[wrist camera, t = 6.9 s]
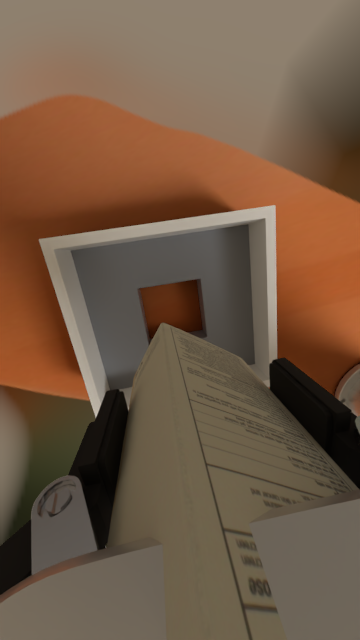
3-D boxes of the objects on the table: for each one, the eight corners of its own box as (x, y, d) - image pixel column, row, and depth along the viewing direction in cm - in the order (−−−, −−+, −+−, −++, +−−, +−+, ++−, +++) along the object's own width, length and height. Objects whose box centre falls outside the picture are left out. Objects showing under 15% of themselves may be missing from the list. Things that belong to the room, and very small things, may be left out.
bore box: (246, 218, 27) (275, 205, 20) (253, 359, 33) (277, 385, 26) (69, 243, 26) (38, 239, 19) (109, 385, 32) (96, 420, 25)
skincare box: (132, 377, 14) (-6, 1028, 2) (162, 316, 13) (208, 892, 1) (215, 409, 15) (408, 917, 3) (248, 356, 14) (661, 810, 3)
